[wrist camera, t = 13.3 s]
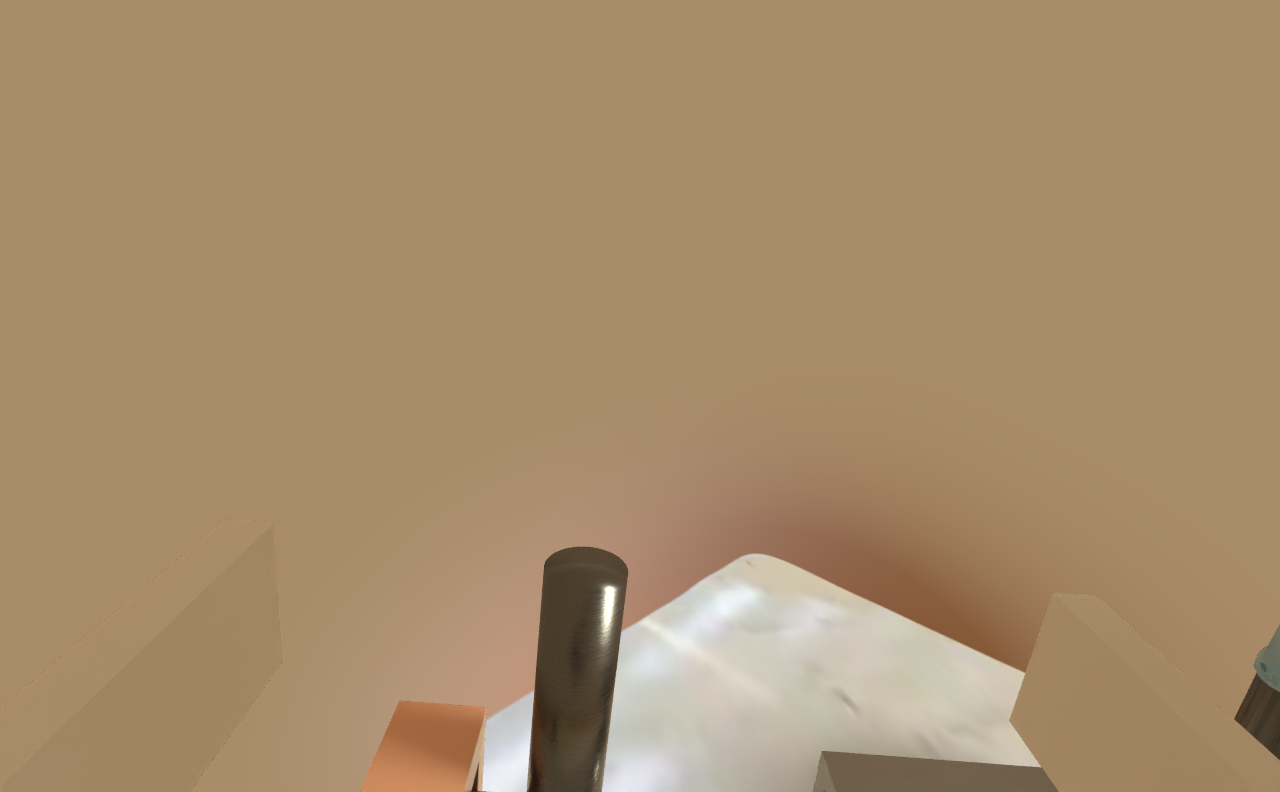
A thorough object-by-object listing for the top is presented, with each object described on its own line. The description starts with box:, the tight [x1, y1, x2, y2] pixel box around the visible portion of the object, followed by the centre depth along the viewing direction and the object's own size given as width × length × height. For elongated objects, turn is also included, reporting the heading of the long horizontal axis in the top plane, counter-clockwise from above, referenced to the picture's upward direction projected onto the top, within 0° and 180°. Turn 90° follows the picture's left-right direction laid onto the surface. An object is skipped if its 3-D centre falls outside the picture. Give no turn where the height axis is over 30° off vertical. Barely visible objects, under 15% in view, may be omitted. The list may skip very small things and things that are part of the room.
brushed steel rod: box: [471, 547, 628, 792], centre depth 32 cm, size 24×4×20 cm, turn 91°
